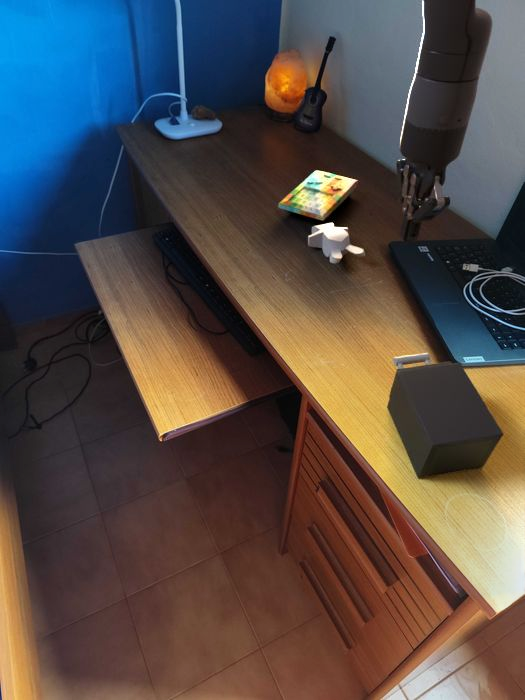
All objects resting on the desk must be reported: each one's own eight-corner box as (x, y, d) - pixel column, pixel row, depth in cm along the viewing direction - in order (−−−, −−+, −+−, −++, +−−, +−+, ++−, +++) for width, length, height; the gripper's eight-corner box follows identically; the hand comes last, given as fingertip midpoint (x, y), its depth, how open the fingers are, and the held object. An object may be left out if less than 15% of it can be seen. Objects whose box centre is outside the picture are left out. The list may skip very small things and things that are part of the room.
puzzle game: (358, 176, 117) (322, 212, 105) (356, 194, 120) (321, 230, 109) (317, 166, 121) (278, 200, 110) (316, 183, 125) (278, 217, 113)
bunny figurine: (338, 214, 106) (371, 241, 95) (337, 235, 109) (369, 264, 98) (300, 222, 104) (329, 251, 93) (300, 243, 107) (328, 273, 96)
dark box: (386, 406, 73) (396, 371, 67) (444, 398, 74) (459, 362, 68) (417, 478, 65) (432, 445, 59) (482, 468, 66) (504, 434, 59)
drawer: (380, 377, 76) (387, 348, 72) (428, 370, 77) (438, 341, 72) (416, 460, 66) (428, 433, 61) (472, 451, 67) (488, 424, 62)
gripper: (493, 133, 52) (451, 261, 65) (443, 94, 61) (415, 213, 74) (430, 139, 51) (400, 267, 64) (388, 98, 60) (369, 218, 73)
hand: (408, 238), depth 69 cm, fingers closed
